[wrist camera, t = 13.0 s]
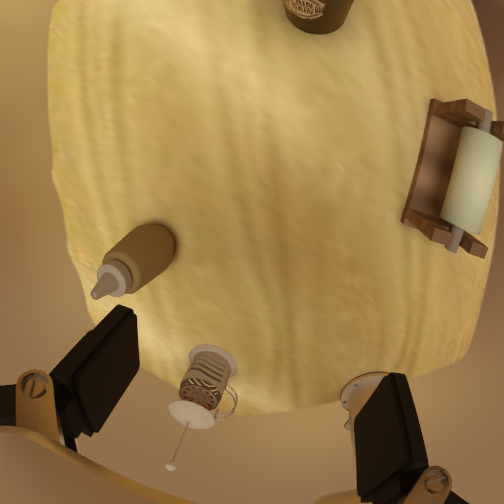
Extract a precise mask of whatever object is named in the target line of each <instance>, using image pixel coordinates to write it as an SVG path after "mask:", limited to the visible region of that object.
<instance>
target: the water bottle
mask: <svg viewBox="0 0 504 504" xmlns="http://www.w3.org/2000/svg"><path fill="white" fill-rule="evenodd" d="M353 1H354V0H283V2H284V6H285V10H286V14H287V17H288V19H289V20H290V22H291V23H292V24H293V25H294V26H296V27H297V28H298V29H300V30H302V31H304V32H307V33H311V34H328V33H331V32H334V31H336V30H337V29H339V28H340V27H341V26H342V24H343V23H344V21H345V19H346V16H347V14H348V12H349V10H350V7H351V5H352V3H353Z"/></svg>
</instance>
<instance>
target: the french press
mask: <svg viewBox="0 0 504 504" xmlns="http://www.w3.org/2000/svg"><path fill="white" fill-rule="evenodd" d="M189 359H190V363H191V364H190V366H189V368H188V370H187V372H186V374H185V376H184V378H183V380H182V382H181V384H180V390H179V395H180V397H181V399H182V400H176V401H173V402H171V403H170V405H169V407H168V408H169V412H170V414H171V415H172V416H173V417H174V418H175V420H177V421H178V422H179V423H181V424H183V425H184V426H186V428H185V431H186V429H187V427H189V428H193V429H207V428H211V427H212V426H213V425H214V418H215V419H216V420H224V419H226V418H229V417H230V416H231V415H232V414H233V413H234V411H235V407H236V406H237V401H238V397H237V394H236V392H235V390H234V389H233V388H232V387H231V386H229V385H228V384H227V383H228V379H229V378H230V377H232V376H233V375H234V373H235V372H236V366H237V364H236V362H235V360H234V358H233V356H231V355H230V354H229V353H228V352H227V351H226V350H224V349H222V348H220V347H218V346H214V345H208V344H205V345H198V346H196V347H195V348H193V349H192V350H191V352H190V354H189ZM193 378H195V379H196V380H197V381H198V382H199V383H200V384H201V385H202V386H203V387H202V386H199V385H198V384H197V383H196V382H195V381H194V379H193ZM188 379H190V380H191V381H192V382H193V383H194V384H191V383H190V382H189V380H188ZM199 379H202V380H203V381H204V382H205V383H206V384H208V385H211V386H212V385H214V386H215V387H208V386H205V385H204V384H203V383H202V382H201V381H200V380H199ZM186 383H188V385H186ZM226 386H229V387H230V388H231V389H232V390H233V391H234V392H235V395H236V402H235V398H234V396H233V395H232V394H231V393H230V392H229V391H227V390H226ZM214 389H218V390H217V391H214V392H211V391H210V390H214ZM224 389H225V390H226V391H227V392H228V393H229V394H230V395H231V396H232V397H233V400H234V408H233V409H232V410H231V411H230V412H227V413H225V414H218V409H217V411H216V414H215V417H213V415H212V414H211V413H210V411H209V410H213V409H215V408H216V407H217V405H218V403H219V402H220V400H221V398H222V395H223V392H224ZM217 392H218V393H217ZM215 393H217V394H216V395H215ZM231 412H232V413H231ZM229 413H231V414H230V415H229V416H227V417H225V418H223V419H217V418H216V416H217V415H226V414H229ZM185 431H184V433H183V436H184V434H185ZM183 436H182V438H181V440H180V443H179V445H178V448H177V450H176V453H175V455H174V457H173V460H172V462H171V461H166V462H165V465H164V466H165V467H166V468H167V469H168V470H171V471H172V470H175V469H176V468H177V464H175V463H173V461H174V458H175V456H176V454H177V451H178V449H179V446H180V444H181V441H182V439H183Z"/></svg>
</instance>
